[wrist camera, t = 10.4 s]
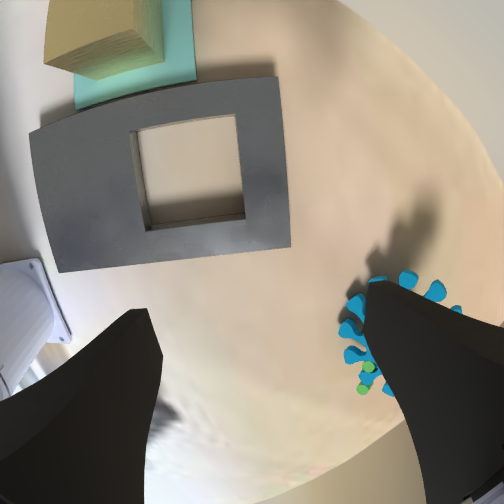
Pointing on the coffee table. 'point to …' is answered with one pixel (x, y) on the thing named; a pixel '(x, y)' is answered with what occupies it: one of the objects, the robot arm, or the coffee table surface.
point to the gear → (351, 331)
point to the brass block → (103, 36)
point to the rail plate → (132, 186)
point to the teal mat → (154, 76)
